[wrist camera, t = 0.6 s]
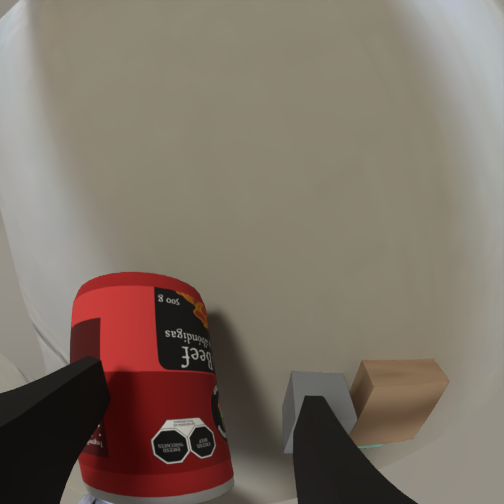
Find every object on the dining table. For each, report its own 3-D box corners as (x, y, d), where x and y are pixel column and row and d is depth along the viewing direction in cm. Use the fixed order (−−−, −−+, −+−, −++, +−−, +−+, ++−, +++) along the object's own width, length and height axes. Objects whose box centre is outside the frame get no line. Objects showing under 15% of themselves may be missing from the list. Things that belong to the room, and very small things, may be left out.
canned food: (209, 316, 19) (235, 470, 13) (103, 325, 18) (116, 472, 12) (198, 259, 13) (239, 507, 7) (50, 275, 11) (57, 494, 6)
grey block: (329, 408, 20) (338, 453, 15) (282, 406, 20) (283, 453, 15) (342, 373, 19) (357, 419, 14) (291, 370, 19) (295, 419, 14)
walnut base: (401, 414, 20) (412, 438, 17) (335, 418, 20) (342, 447, 17) (431, 356, 18) (449, 380, 15) (361, 357, 19) (373, 386, 15)
